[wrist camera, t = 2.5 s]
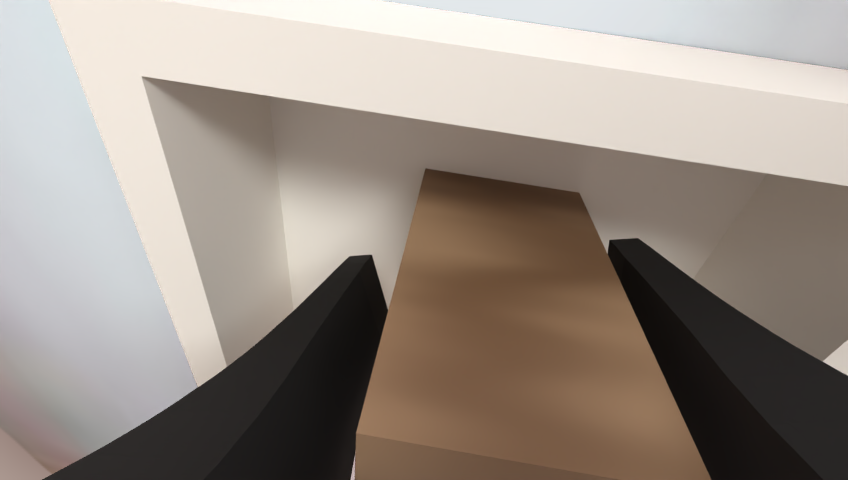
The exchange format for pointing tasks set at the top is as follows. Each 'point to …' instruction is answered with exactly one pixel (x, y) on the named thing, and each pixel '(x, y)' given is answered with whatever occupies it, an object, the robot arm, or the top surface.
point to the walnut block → (514, 350)
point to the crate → (452, 151)
